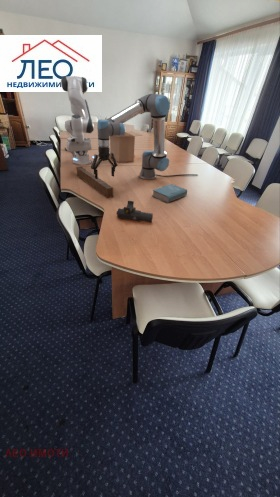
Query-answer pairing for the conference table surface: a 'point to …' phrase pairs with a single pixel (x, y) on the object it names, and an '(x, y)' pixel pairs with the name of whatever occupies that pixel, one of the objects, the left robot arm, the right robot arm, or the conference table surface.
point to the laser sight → (133, 213)
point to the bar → (95, 182)
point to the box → (123, 146)
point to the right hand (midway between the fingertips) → (104, 177)
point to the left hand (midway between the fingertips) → (80, 156)
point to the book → (169, 193)
